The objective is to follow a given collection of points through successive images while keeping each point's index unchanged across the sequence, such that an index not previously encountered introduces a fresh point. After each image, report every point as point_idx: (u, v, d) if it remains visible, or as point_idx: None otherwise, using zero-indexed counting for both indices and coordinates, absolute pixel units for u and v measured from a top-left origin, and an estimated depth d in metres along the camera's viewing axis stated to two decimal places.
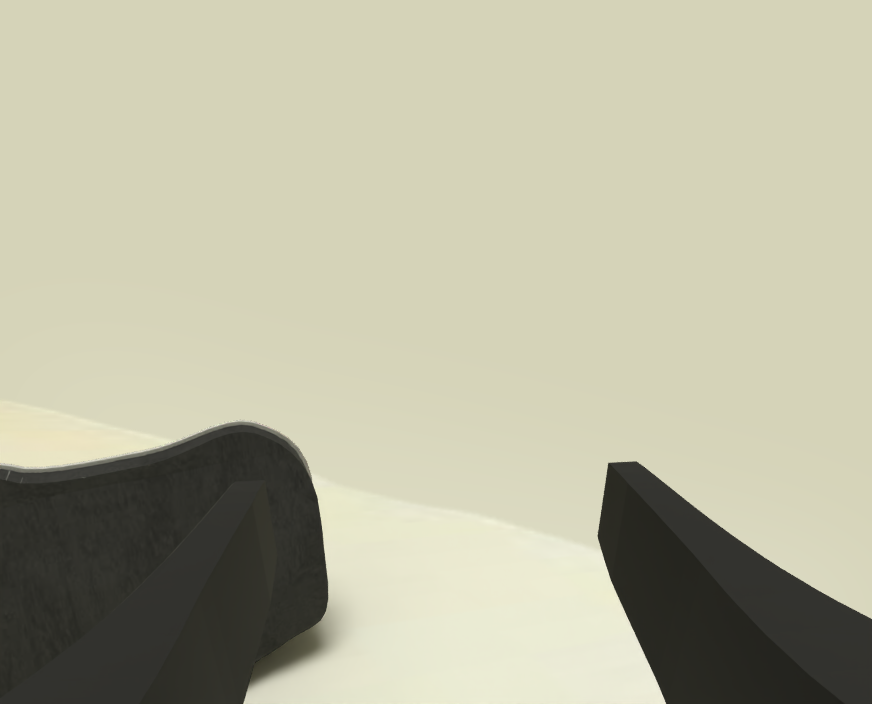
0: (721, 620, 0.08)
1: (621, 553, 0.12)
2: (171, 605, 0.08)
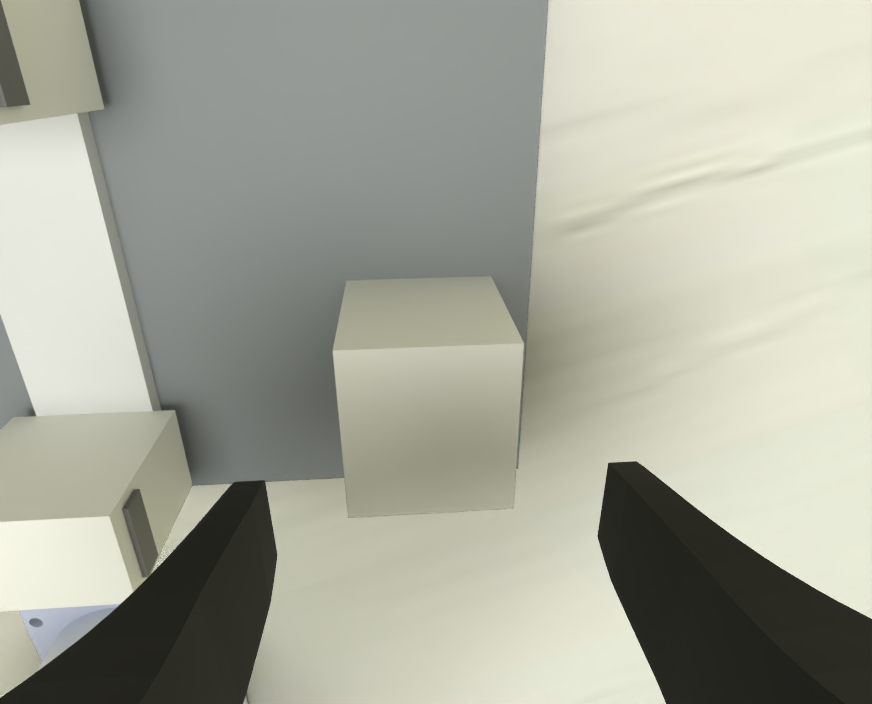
0: (721, 620, 0.08)
1: (620, 553, 0.12)
2: (172, 606, 0.08)
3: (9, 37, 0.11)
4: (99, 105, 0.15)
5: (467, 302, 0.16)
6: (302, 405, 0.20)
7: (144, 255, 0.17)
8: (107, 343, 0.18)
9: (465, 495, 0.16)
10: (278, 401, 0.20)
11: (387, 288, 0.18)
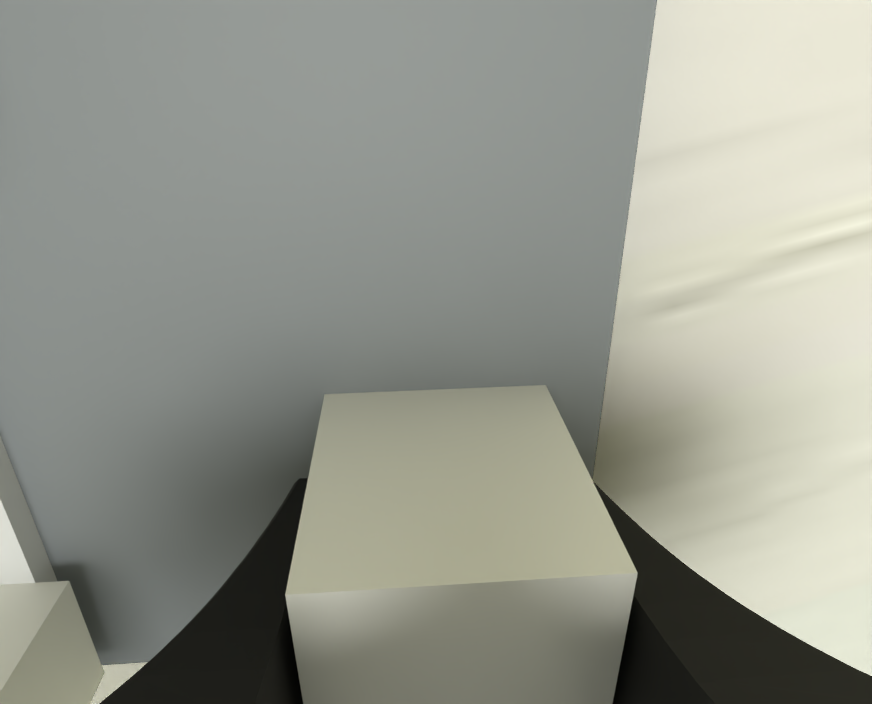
0: (633, 626, 0.08)
1: None
2: (264, 600, 0.08)
3: None
4: None
5: (518, 452, 0.10)
6: None
7: (5, 363, 0.11)
8: None
9: None
10: (227, 557, 0.14)
11: (387, 413, 0.11)
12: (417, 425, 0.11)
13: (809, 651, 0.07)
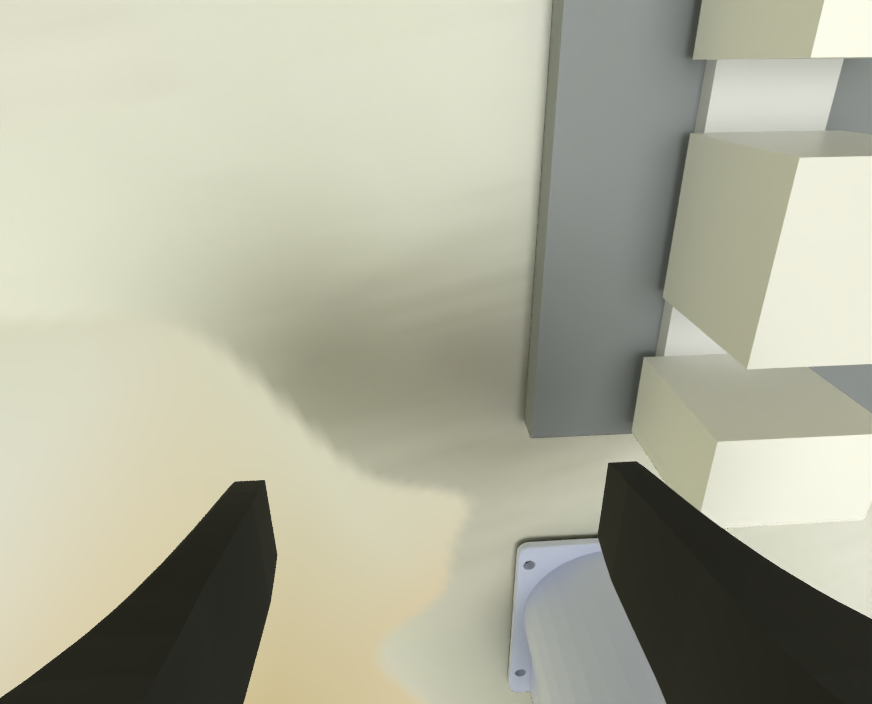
0: (721, 620, 0.08)
1: (621, 553, 0.12)
2: (172, 606, 0.08)
3: None
4: None
5: (863, 139, 0.15)
6: None
7: None
8: None
9: None
10: None
11: (749, 135, 0.16)
12: (778, 136, 0.16)
13: None
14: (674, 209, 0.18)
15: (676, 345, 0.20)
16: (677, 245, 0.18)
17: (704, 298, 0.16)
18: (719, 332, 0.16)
